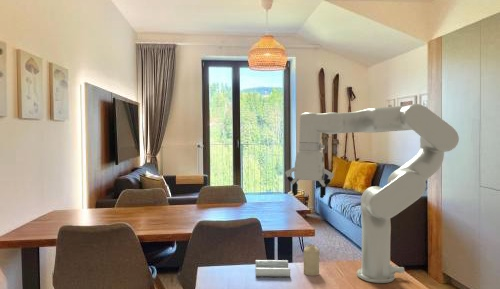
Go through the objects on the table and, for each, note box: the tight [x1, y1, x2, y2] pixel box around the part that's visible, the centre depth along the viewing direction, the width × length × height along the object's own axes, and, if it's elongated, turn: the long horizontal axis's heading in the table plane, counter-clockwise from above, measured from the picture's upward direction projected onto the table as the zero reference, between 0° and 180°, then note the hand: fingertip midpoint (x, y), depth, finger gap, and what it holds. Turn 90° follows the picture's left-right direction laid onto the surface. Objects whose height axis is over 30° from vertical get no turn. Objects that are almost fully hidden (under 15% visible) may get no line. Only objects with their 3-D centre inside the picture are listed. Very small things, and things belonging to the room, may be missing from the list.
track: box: [255, 259, 291, 279], centre depth 136 cm, size 12×9×3 cm
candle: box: [303, 244, 320, 277], centre depth 136 cm, size 6×6×10 cm
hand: (308, 196), depth 134 cm, fingers open, 9 cm apart
